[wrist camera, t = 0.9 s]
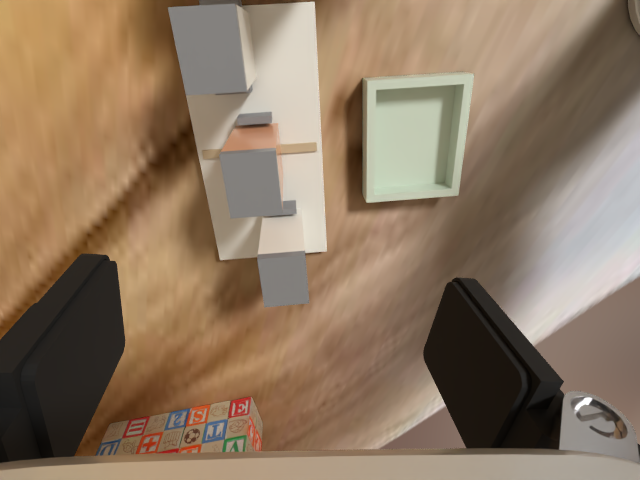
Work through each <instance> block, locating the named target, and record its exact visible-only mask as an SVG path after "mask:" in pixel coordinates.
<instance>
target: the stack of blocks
mask: <svg viewBox="0 0 640 480" xmlns="http://www.w3.org/2000/svg"><path fill="white" fill-rule="evenodd" d="M262 426H263V422H262V420H261V418H260V415H259V413H258V411H257V408H256V405H255V403H254V401H253V399H252V397H247V398H243V399H238V400H233V401H225V402H219V403H214V404H211V405H204V406H199V407H193V408H191V409H185V410H180V411H175V412H171V413H165V414H160V415H155V416H148V417H143V418H138V419H133V420H127V421H121V422H116V423H111V424H109V426H108V428H107V431H106V433H105V435H104V437H103V439H102V442H101V444H100V446H99V448H98V451H97V453H96V455H95V456H101V455H128V454H160V453H206V452H252V451H261V447H262Z"/></svg>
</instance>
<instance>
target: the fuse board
mask: <svg viewBox="0 0 640 480" xmlns="http://www.w3.org/2000/svg"><path fill="white" fill-rule="evenodd" d="M199 4H200V5H217V4H236V5H238V6H240V7H241V8H243V9H244V10H246V11H248V12H249V17H250V25H251V34H252V42H253V50H254V58H255V67H256V75H257V78H256V79H255V81H254V82H253V84H252V85H251V86H250V88H249V89H248V91H247V92H233V93H218V94H203V95H187V96H186V98H187V103H188V108H189V113H190V117H191V122H192V127H193V132H194V137H195V142H196V146H197V151H198V156H199V161H200V166H201V170H202V175H203V180H204V185H205V190H206V195H207V199H208V204H209V209H210V214H211V219H212V224H213V228H214V233H215V238H216V243H217V248H218V253H219V257H220V260H229V259H241V258H253V257H258V249H259V241H260V234H261V226H262V218H263V216H258V217H245V218H233V219H231V218H230V213H229V207H228V202H227V196H226V191H225V185H224V179H223V174H222V168H221V163H220V157H219V154H220V152H221V150H222V149H223V147H224V145H225V143H226V141H227V140H228V138H229V136H230V134H231V133H232V131H233V129H234V127H235V126H241V125H255V124H270V123H278V126H279V136H280V146H281V155H282V165H283V215H289V214H297V210H296V209H300V208H301V211H302V223H303V234H304V246H305V253H312V252H324V251H327V243H326V222H325V202H324V182H323V162H322V142H321V121H320V101H319V81H318V61H317V41H316V21H315V2H300V3H282V4H264V5H246V6H242V2H241V0H199ZM168 11H169V10H168ZM169 16H170V15H169ZM170 21H171V20H170ZM171 26H172V25H171ZM172 31H173V30H172ZM174 40H175V39H174ZM175 45H176V44H175ZM176 50H177V49H176ZM177 55H178V54H177ZM178 60H179V59H178ZM180 69H181V68H180ZM181 74H182V73H181ZM182 79H183V78H182ZM183 84H184V83H183ZM185 93H186V92H185ZM271 216H277V215H271Z"/></svg>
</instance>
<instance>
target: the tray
mask: <svg viewBox="0 0 640 480" xmlns="http://www.w3.org/2000/svg"><path fill="white" fill-rule="evenodd" d="M473 80H474V74H472V73H467V72H449V73H433V74H417V75H402V76H386V77H371V78H362V194H363V197H364V199H365V201H366V203H371V202H383V201H396V200H409V199H422V198H434V197H447V196H458V194H459V187H460V179H461V171H462V164H463V156H464V148H465V141H466V133H467V125H468V118H469V110H470V102H471V95H472V87H473Z"/></svg>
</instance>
